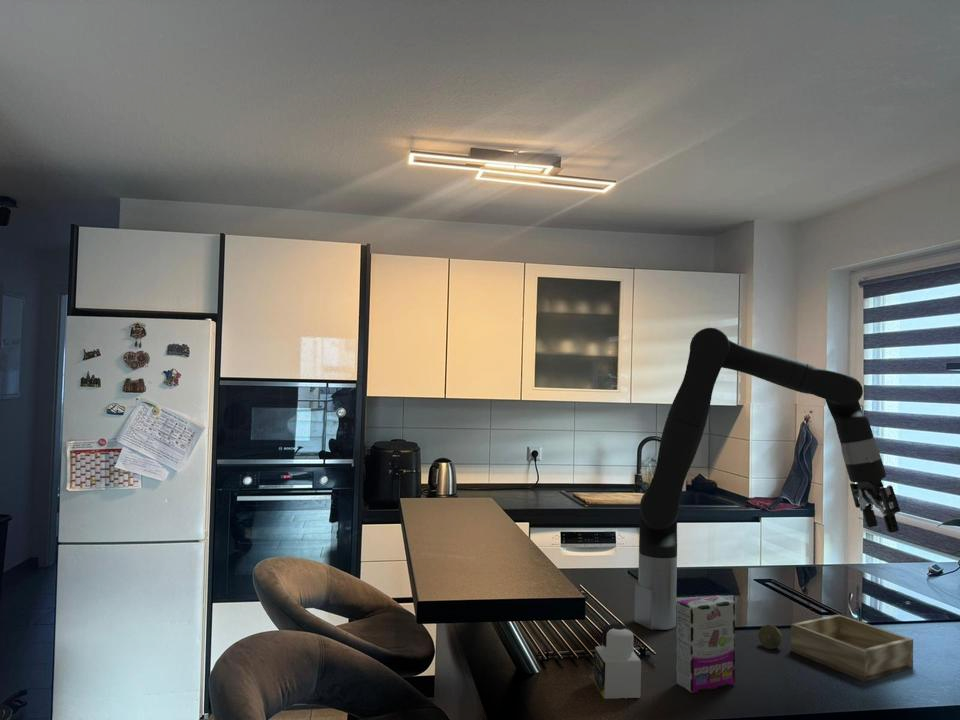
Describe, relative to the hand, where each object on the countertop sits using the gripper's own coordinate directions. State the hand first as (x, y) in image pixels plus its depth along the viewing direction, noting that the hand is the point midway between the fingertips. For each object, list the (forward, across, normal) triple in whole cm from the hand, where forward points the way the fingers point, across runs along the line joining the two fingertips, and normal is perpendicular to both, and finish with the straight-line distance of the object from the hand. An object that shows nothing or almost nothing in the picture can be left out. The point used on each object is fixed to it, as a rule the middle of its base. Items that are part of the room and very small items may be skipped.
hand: (882, 529), depth 151 cm
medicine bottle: (+13, +24, -70) cm, 75 cm away
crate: (+25, +3, -16) cm, 30 cm away
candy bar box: (+17, +20, -52) cm, 58 cm away
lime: (+21, -2, -31) cm, 38 cm away
